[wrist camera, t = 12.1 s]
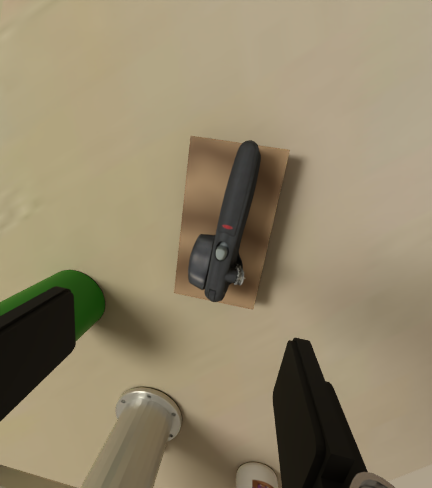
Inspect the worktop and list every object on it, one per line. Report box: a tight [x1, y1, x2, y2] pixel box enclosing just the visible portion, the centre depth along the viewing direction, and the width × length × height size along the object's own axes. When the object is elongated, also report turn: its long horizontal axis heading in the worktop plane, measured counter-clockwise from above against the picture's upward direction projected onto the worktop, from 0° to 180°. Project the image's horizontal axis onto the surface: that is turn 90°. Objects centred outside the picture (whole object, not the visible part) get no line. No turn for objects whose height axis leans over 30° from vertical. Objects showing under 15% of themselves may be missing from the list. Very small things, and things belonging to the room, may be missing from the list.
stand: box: [174, 136, 290, 309], centre depth 29 cm, size 20×11×3 cm, turn 171°
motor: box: [0, 270, 105, 341], centre depth 28 cm, size 10×9×20 cm
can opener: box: [188, 141, 261, 302], centre depth 25 cm, size 18×7×6 cm, turn 164°
